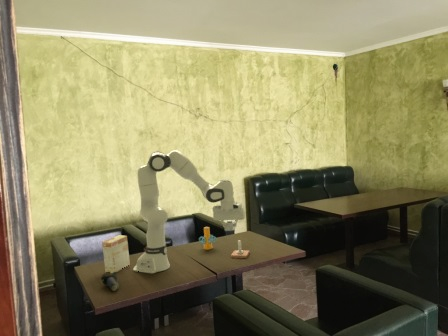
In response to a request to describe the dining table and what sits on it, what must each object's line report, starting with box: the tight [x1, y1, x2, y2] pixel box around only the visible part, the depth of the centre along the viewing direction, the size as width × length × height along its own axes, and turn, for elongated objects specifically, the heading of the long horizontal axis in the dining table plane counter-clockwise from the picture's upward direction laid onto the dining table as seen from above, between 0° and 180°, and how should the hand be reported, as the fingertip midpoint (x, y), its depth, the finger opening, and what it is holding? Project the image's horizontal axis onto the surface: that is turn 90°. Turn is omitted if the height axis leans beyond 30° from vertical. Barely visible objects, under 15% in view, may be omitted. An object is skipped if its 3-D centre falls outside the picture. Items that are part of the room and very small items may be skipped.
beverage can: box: [100, 272, 120, 292], centre depth 202 cm, size 9×8×12 cm
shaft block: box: [230, 240, 250, 259], centre depth 239 cm, size 10×10×10 cm
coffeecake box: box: [101, 234, 131, 274], centre depth 230 cm, size 15×7×20 cm, turn 152°
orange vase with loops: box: [198, 226, 217, 251], centre depth 258 cm, size 12×10×15 cm
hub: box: [223, 220, 237, 231], centre depth 233 cm, size 6×6×5 cm
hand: (230, 226), depth 233 cm, fingers closed on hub, 6 cm apart
